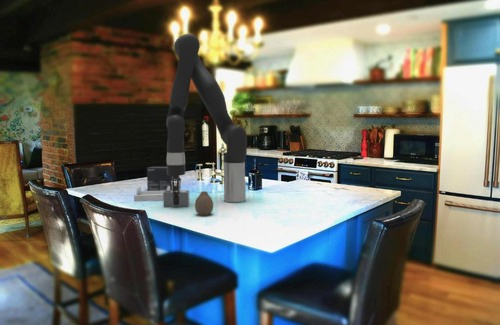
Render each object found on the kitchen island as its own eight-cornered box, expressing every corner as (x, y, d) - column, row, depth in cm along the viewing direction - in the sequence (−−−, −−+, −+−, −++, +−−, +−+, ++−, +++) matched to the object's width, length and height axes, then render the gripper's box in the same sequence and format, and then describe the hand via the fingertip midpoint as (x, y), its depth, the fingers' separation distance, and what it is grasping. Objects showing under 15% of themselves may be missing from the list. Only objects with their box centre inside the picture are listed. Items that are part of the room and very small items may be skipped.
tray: (172, 195, 190) (172, 185, 189) (171, 200, 179) (170, 189, 178) (137, 196, 187) (137, 185, 187) (134, 201, 177) (133, 190, 176)
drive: (189, 204, 171) (189, 190, 170) (188, 207, 165) (187, 192, 165) (165, 204, 170) (165, 190, 170) (163, 207, 165) (163, 192, 164)
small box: (176, 189, 206) (176, 166, 204) (172, 192, 199) (172, 168, 198) (151, 189, 207) (151, 166, 206) (146, 191, 200) (146, 167, 199)
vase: (204, 211, 157) (204, 189, 156) (217, 214, 153) (216, 191, 152) (191, 214, 152) (190, 192, 151) (204, 217, 148) (203, 194, 147)
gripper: (184, 165, 159) (185, 206, 161) (185, 161, 173) (186, 199, 175) (165, 165, 158) (166, 207, 160) (167, 161, 172) (168, 200, 174)
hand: (176, 203), depth 168 cm, fingers closed on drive, 5 cm apart
